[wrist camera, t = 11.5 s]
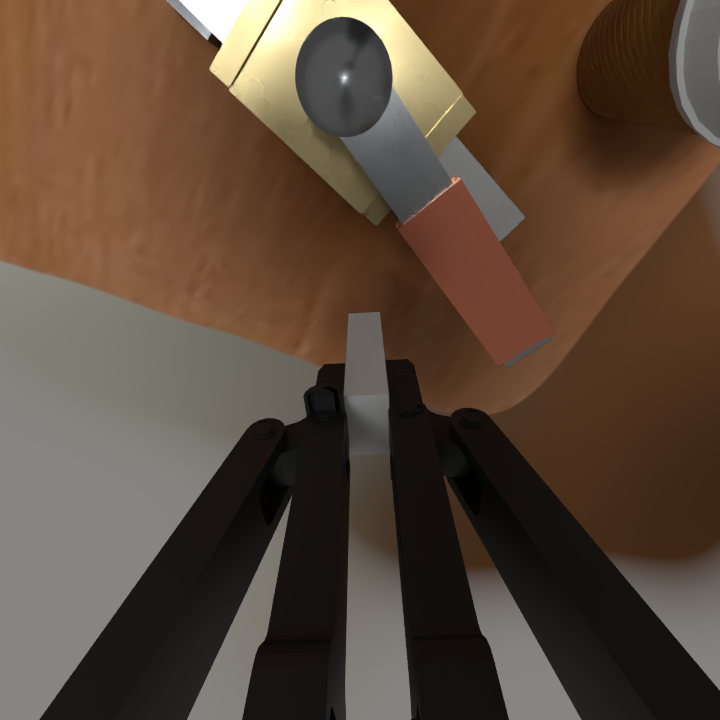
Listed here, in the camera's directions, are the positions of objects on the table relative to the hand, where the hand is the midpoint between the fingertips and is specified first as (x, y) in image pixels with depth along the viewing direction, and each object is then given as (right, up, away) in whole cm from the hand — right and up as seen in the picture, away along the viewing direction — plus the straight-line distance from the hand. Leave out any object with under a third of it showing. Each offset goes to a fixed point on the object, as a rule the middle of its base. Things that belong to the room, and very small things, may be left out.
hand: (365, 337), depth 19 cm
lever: (+3, +5, -1) cm, 6 cm away
